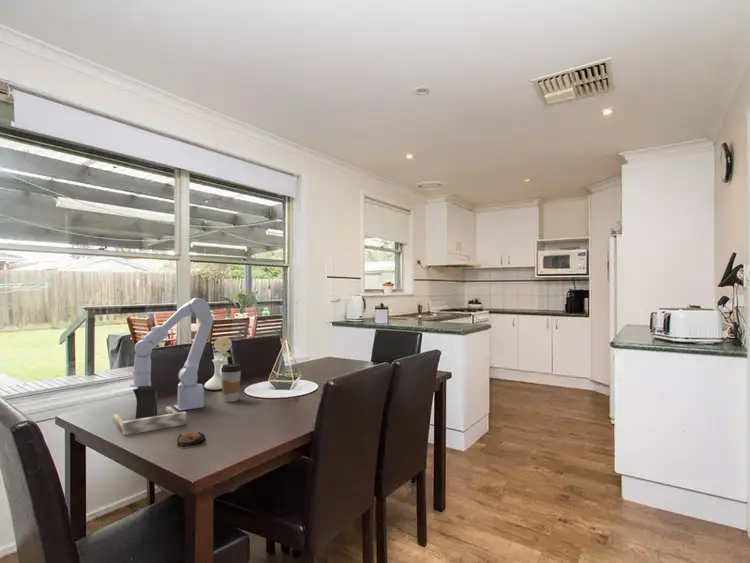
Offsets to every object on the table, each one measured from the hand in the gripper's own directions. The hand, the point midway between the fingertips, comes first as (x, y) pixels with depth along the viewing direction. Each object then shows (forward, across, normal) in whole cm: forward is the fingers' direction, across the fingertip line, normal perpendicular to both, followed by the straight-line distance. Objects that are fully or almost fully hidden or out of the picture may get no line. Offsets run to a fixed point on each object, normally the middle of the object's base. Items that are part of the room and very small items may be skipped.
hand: (141, 407), depth 163 cm
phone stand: (+2, +10, 0) cm, 10 cm away
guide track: (+2, +13, 0) cm, 13 cm away
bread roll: (+3, +44, +6) cm, 44 cm away
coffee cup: (+2, +2, +34) cm, 34 cm away
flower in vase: (+2, -22, +37) cm, 43 cm away
